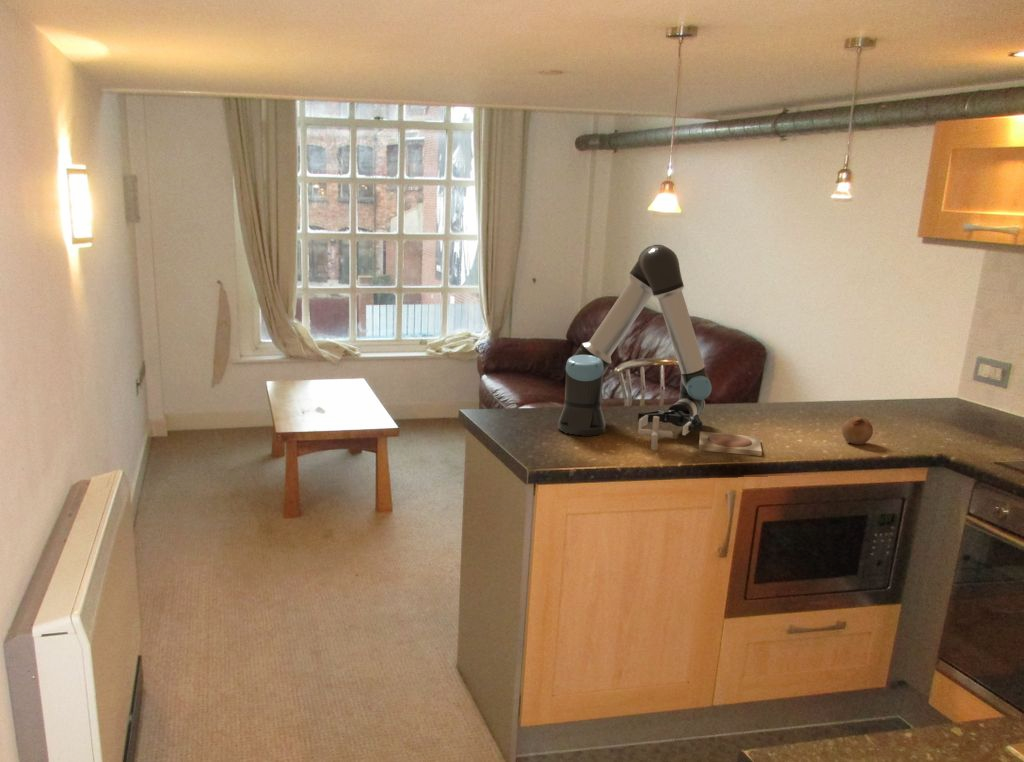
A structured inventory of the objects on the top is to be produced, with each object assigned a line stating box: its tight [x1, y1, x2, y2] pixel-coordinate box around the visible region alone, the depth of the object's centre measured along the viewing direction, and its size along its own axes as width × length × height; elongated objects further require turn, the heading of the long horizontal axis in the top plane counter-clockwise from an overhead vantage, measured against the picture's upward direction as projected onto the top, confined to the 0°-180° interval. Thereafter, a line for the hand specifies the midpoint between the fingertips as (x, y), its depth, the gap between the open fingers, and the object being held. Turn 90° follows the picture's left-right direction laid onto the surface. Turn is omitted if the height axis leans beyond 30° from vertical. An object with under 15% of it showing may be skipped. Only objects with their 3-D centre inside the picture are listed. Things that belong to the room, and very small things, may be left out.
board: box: [698, 431, 763, 457], centre depth 249 cm, size 18×16×2 cm
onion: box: [841, 416, 874, 445], centre depth 256 cm, size 9×9×10 cm
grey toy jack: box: [637, 416, 673, 451], centre depth 241 cm, size 10×10×10 cm
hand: (661, 427), depth 243 cm, fingers open, 13 cm apart
